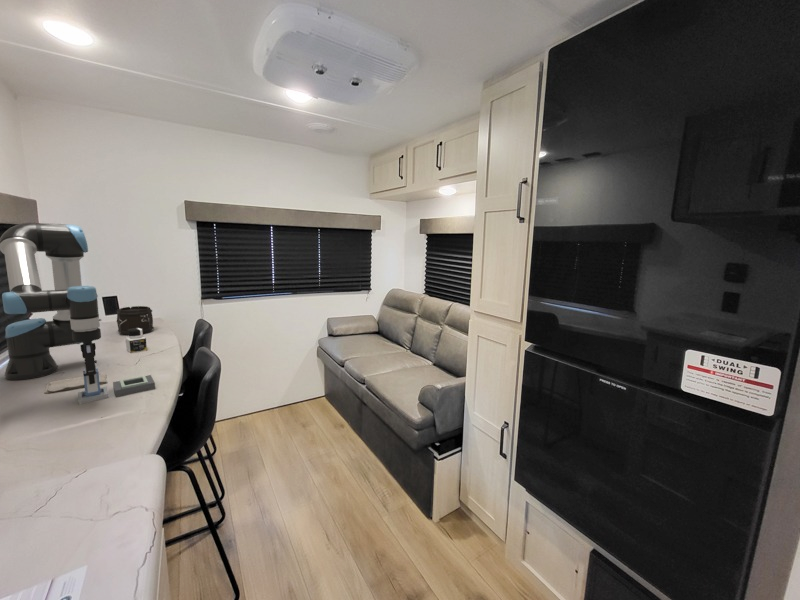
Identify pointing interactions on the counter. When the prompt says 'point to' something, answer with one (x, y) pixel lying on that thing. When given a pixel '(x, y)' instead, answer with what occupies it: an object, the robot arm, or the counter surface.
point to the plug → (86, 384)
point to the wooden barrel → (134, 319)
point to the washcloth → (70, 384)
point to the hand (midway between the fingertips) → (92, 386)
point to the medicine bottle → (135, 341)
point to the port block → (133, 385)
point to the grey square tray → (84, 399)
